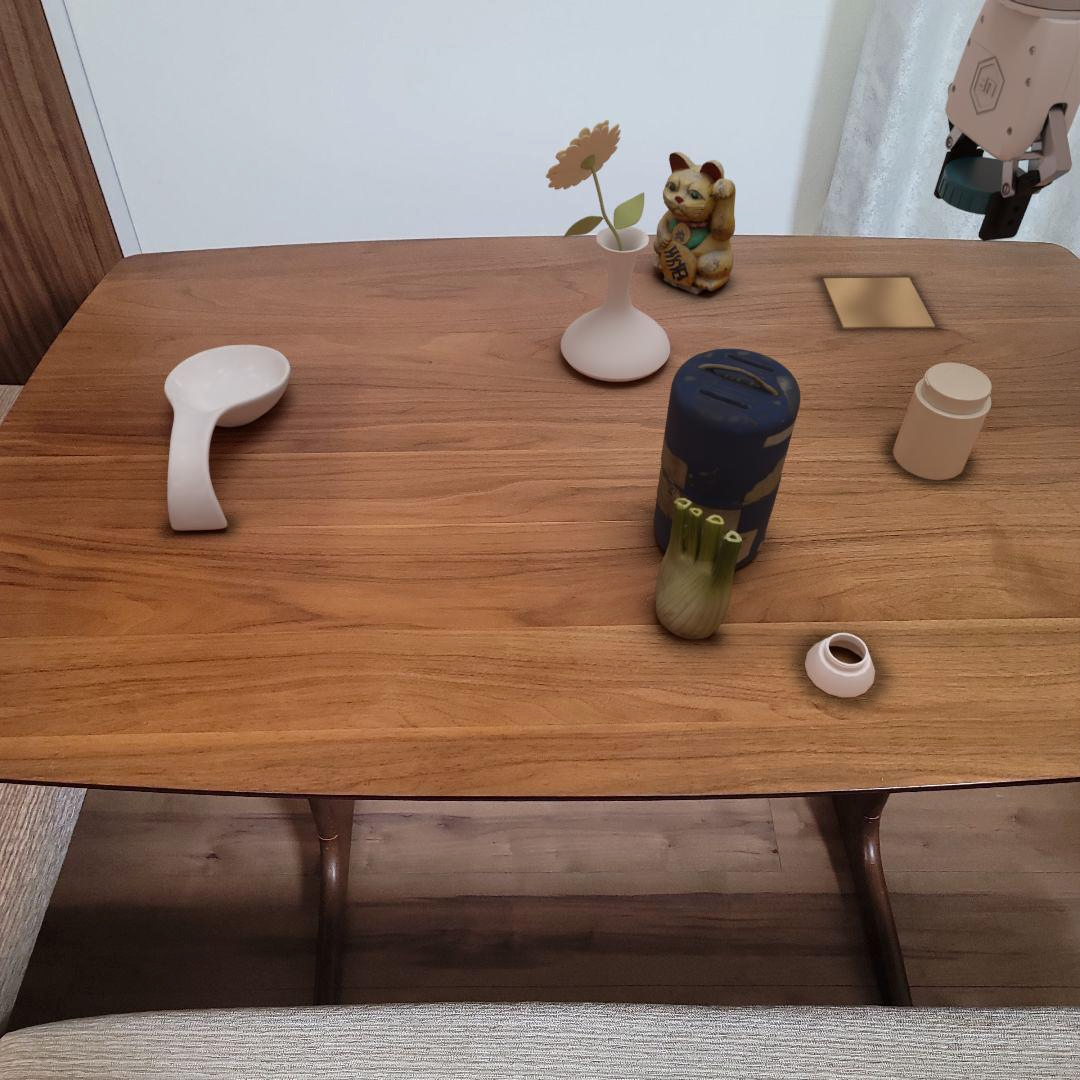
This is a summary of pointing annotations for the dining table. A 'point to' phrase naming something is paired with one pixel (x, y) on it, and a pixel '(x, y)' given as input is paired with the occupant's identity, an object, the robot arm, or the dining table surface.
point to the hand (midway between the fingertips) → (973, 214)
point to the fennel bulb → (696, 573)
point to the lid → (971, 183)
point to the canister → (727, 442)
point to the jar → (943, 421)
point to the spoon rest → (214, 420)
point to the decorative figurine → (696, 226)
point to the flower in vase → (609, 274)
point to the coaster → (877, 303)
